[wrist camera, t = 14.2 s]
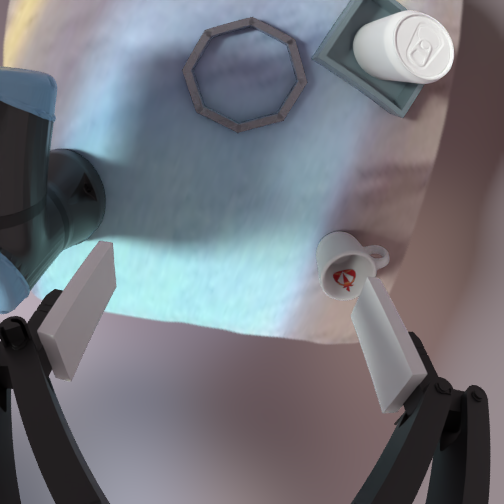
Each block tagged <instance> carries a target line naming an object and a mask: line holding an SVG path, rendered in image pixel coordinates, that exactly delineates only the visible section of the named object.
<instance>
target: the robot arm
mask: <svg viewBox="0 0 504 504" xmlns="http://www.w3.org/2000/svg"><path fill="white" fill-rule="evenodd" d="M56 95H57V84H56V81H55V79H54V78H53V77H52V76H51V75H49V74H47V73H43V72H39V71H33V70H27V69H20V68H11V67H2V66H0V314H7V313H9V312H11V311H13V310H14V309H15V308H16V307H17V306H18V305H19V304H20V303H21V302H22V301H23V300H24V299H25V298H27V297H28V295H29V293H30V291H31V289H32V288H33V287H34V285H35V284H36V283H37V281H38V280H39V279H40V277H41V276H42V275H43V274H44V272H45V271H46V270H47V269H48V267H49V266H50V265H51V264H52V263H53V261H54V260H55V259H56V258H57V257H58V255H59V254H60V253H61V252H62V251H63V250H65V249H67V248H69V247H71V246H73V245H77V244H79V243H82V242H83V241H85V240H86V239H87V238H89V237H90V236H91V235H92V233H93V232H94V231H95V230H96V229H97V228H98V226H99V225H100V223H101V221H102V219H103V216H104V212H105V192H104V188H103V184H102V182H101V179H100V177H99V175H98V173H97V172H96V170H95V169H94V167H93V166H92V165H91V164H90V163H89V162H88V161H87V160H86V159H85V158H84V157H82V156H81V155H79V154H77V153H75V152H73V151H70V150H66V149H55V150H51V151H50V146H51V138H52V130H53V123H54V121H55V119H56V117H55V115H54V111H55V103H56ZM115 289H116V277H115V266H114V252H113V243H111V242H104V241H99V242H98V243H97V245H96V246H95V247H94V249H93V250H92V251H91V253H90V254H89V255H88V257H87V258H86V259H85V261H84V262H83V263H82V265H81V266H80V268H79V269H78V270H77V272H76V273H75V274H74V276H73V277H72V279H71V280H70V282H69V283H68V284H67V286H66V287H65V289H64V290H63V291H62V290H57V289H54V290H53V291H51V292H50V293H49V294H47V295H46V296H45V298H44V299H43V301H42V302H41V304H40V305H39V307H38V308H37V311H35V312H34V314H33V315H32V317H31V319H30V320H29V321H28V323H26V321H25V319H23V318H21V317H18V316H13V317H9V318H7V319H5V320H3V322H1V323H0V339H1V341H0V504H21V501H20V495H19V489H18V483H17V477H16V469H15V460H14V451H13V440H12V422H11V389H13V390H14V394H15V397H16V401H17V404H18V408H19V411H20V415H21V418H22V421H23V425H24V428H25V431H26V434H27V436H28V440H29V442H30V445H31V448H32V450H33V453H34V456H35V458H36V461H37V463H38V466H39V468H40V471H41V473H42V475H43V478H44V480H45V482H46V484H47V487H48V489H49V491H50V493H51V495H52V497H53V499H54V501H55V503H56V504H110V503H109V501H108V500H107V498H106V497H105V495H104V493H103V492H102V490H101V488H100V487H99V485H98V483H97V481H96V480H95V478H94V476H93V474H92V472H91V471H90V469H89V467H88V465H87V463H86V461H85V459H84V457H83V455H82V453H81V451H80V449H79V447H78V445H77V443H76V441H75V439H74V437H73V435H72V432H71V430H70V428H69V426H68V423H67V421H66V419H65V417H64V414H63V412H62V409H61V407H60V404H59V402H58V399H57V397H56V394H55V392H54V389H53V386H52V384H51V381H50V378H49V374H50V372H51V370H53V372H54V375H55V377H56V378H59V379H62V380H66V381H69V382H71V381H72V379H73V377H74V374H75V372H76V370H77V368H78V365H79V363H80V361H81V359H82V356H83V354H84V352H85V350H86V348H87V345H88V343H89V341H90V339H91V337H92V335H93V333H94V330H95V328H96V326H97V324H98V322H99V320H100V318H101V316H102V314H103V312H104V310H105V308H106V306H107V304H108V302H109V300H110V298H111V296H112V294H113V292H114V290H115ZM351 319H352V321H353V324H354V327H355V330H356V333H357V336H358V338H359V341H360V344H361V347H362V350H363V353H364V356H365V359H366V362H367V365H368V368H369V371H370V374H371V377H372V380H373V384H374V387H375V390H376V393H377V397H378V400H379V403H380V406H381V410H382V413H394V412H397V411H398V410H399V409H400V408H401V407H402V406H403V405H404V408H405V412H404V413H403V415H402V416H401V417H400V418H399V419H398V420H397V421H396V422H395V425H397V426H396V428H395V430H394V432H393V434H392V436H391V438H390V440H389V442H388V444H387V445H386V447H385V449H384V451H383V453H382V454H381V456H380V458H379V460H378V461H377V463H376V465H375V467H374V468H373V470H372V472H371V473H370V475H369V477H368V478H367V480H366V482H365V483H364V484H363V486H362V488H361V489H360V491H359V492H358V494H357V495H356V497H355V498H354V500H353V501H352V503H351V504H412V503H413V501H414V499H415V497H416V495H417V492H418V490H419V488H420V486H421V484H422V481H423V479H424V477H425V475H426V472H427V470H428V467H429V464H430V462H431V460H432V458H433V462H432V469H431V476H430V482H429V488H428V493H427V499H426V504H488V500H489V485H490V424H489V409H488V399H487V395H486V393H485V392H484V390H483V389H481V388H480V387H478V386H476V385H472V386H469V387H468V388H467V390H466V391H465V392H464V391H459V390H455V389H453V387H452V385H451V384H450V383H449V382H448V381H447V380H446V379H444V378H441V377H438V375H437V373H436V371H435V369H434V367H433V365H432V363H431V361H430V358H429V356H428V355H427V353H426V351H425V349H424V346H423V344H422V342H421V340H420V339H419V338H418V337H417V336H416V335H415V333H413V332H407V329H406V327H405V326H404V323H403V321H402V319H401V317H400V315H399V313H398V312H397V310H396V308H395V306H394V304H393V302H392V300H391V299H390V296H389V294H388V292H387V291H386V289H385V287H384V285H383V283H382V281H381V280H380V278H375V277H367V279H366V281H365V284H364V286H363V288H362V291H361V293H360V296H359V298H358V300H357V303H356V305H355V307H354V309H353V312H352V314H351Z"/></svg>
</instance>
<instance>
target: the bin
mask: <svg viewBox="0 0 504 504" xmlns="http://www.w3.org/2000/svg"><path fill="white" fill-rule="evenodd" d="M402 11H407V9H406V8H405V7H403V6H402V5H401V4H400V3H398V2H397V1H396V0H351V1H350V2H349V3H348V5H347V6H346V8H345V9H344V11H343V12H342V14H341V15H340V17H339V18H338V19H337V21H336V22H335V24H334V25H333V27H332V28H331V30H330V31H329V33H328V34H327V36H326V37H325V39H324V40H323V42H322V43H321V45H320V46H319V48H318V50H317V51H316V53H315V54H314V56H313V57H312V60H314V61H315V62H317V63H319V64H320V65H322V66H323V67H325V68H326V69H328V70H330V71H331V72H333V73H334V74H336V75H337V76H339V77H340V78H342V79H343V80H345V81H346V82H348V83H349V84H351V85H352V86H354V87H355V88H356V89H358V90H359V91H361V92H362V93H363V94H365V95H366V96H368V97H369V98H370V99H372V100H373V101H374V102H376V103H377V104H378V105H380V106H381V107H382V108H384V109H385V110H386V111H387V112H389V113H390V114H392V115H395V116H398V117H401V118H403V117H404V116H405V114H406V113H407V111H408V110H409V108H410V106H411V105H412V103H413V102H414V100H415V99H416V97H417V95H418V94H419V92H420V91H421V89H422V88H423V86H424V84H419V83H411V82H402V81H391V80H381V79H377V78H375V77H372V76H371V75H369V74H368V73H366V72H365V71H364V70H363V69H362V68H361V67H360V65H359V64H358V62H357V60H356V58H355V55H354V51H353V41H354V37H355V35H356V33H357V31H358V30H359V29H360V28H361V27H362V26H364V25H366V24H368V23H370V22H373V21H376V20H378V19H381V18H384V17H387V16H390V15H392V14H395V13H398V12H402Z"/></svg>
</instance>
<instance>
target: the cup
mask: <svg viewBox="0 0 504 504" xmlns="http://www.w3.org/2000/svg"><path fill="white" fill-rule="evenodd" d="M374 253H377V254H380V255H381V256H383V257H382V258H373V257H372V256H370V255H371V254H374ZM316 259H317V266H318V273H319V281H320V285H321V288H322V290H323V291H324V293H325V294H326V295H328V296H329V297H331V298H333V299H336V300H342V301H345V300H351V299H355V298H357V297H359V296H360V293H361V291H362V288H363V286H364V284H365V281H366V279H367V277H375V278H376V274H377V269H380V268H383V267H385V266H386V265H387V264H388V263H389V253H388V251H387V250H386V249H385V248H384V247H382V246H379V245H371V246H367V247H363V246H362V245H361V244H360V243H359V242H358V241H357V239H356V238H355V237H353V236H352V235H351V234H349V233H346V232H342V231H337V232H332V233H330V234H328V235H326V236H325V237H324V238H323V239H322V240H321V241H320V243H319V244H318V247H317V251H316Z"/></svg>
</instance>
